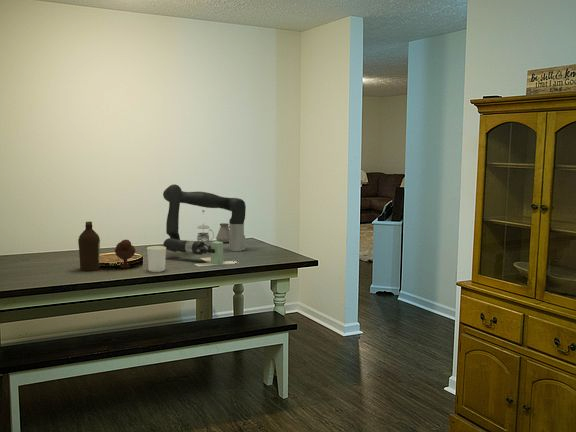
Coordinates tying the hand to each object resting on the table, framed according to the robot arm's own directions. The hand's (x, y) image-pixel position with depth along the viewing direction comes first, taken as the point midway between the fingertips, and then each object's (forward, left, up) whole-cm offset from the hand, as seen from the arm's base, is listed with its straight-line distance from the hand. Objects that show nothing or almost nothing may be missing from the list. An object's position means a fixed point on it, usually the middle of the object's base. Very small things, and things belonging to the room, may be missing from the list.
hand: (219, 250), depth 314 cm
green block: (+1, -1, -8) cm, 8 cm away
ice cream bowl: (+49, -12, -8) cm, 51 cm away
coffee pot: (-31, -65, -8) cm, 73 cm away
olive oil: (+67, -13, -8) cm, 69 cm away
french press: (-10, -52, -8) cm, 54 cm away
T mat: (+1, -9, -8) cm, 12 cm away
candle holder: (+36, +3, -8) cm, 37 cm away
